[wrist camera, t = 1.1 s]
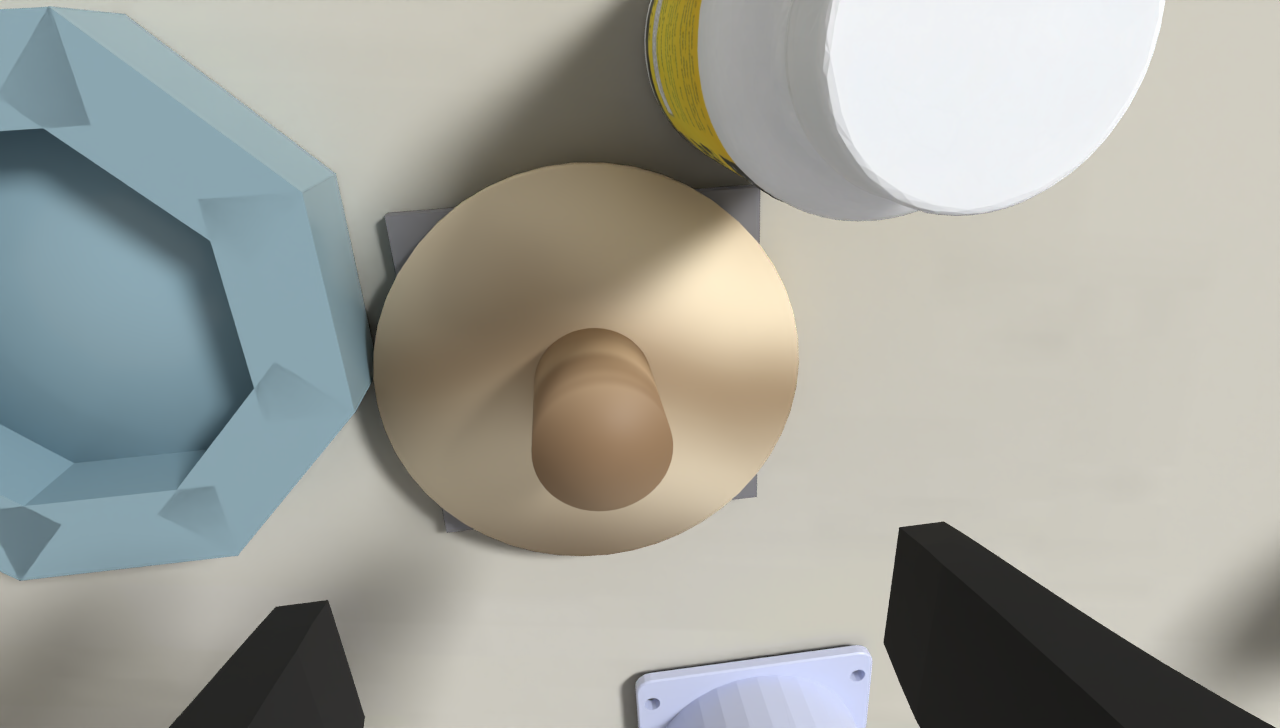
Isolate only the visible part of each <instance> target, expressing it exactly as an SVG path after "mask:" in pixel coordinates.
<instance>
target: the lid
mask: <svg viewBox="0 0 1280 728" xmlns="http://www.w3.org/2000/svg"><path fill="white" fill-rule="evenodd" d="M798 365H799V356H798V336H797V330H796V324H795V319H794V313H793V310H792V307H791V304H790V301H789V298H788V295H787V292H786V289H785V287H784V285H783V283H782V281H781V279H780V277H779V275H778V273H777V271H776V269H775V267H774V265H773V263H772V262H771V260H770V259H769V257H768V256H767V255H766V253H765V252H764V250H763V249H762V247H761V246H760V244H759V243H758V242H757V241H756V240H755V239H754V238H753V237H752V235H751V234H750V233H749V232H748V231H747V230H746V229H745V228H744V227H743V226H742V225H741V224H740V223H739V222H738V221H737V220H736V219H735V218H734V217H732V216H731V215H730V214H729V213H727V212H726V211H725V210H724V209H722V208H721V207H720V206H719V205H718V204H716V203H715V202H714V201H713V200H711V199H710V198H708V197H706V196H705V195H703V194H701V193H700V192H698V191H696V190H695V189H693V188H691V187H690V186H688V185H686V184H683V183H681V182H679V181H676V180H674V179H672V178H669V177H667V176H665V175H662V174H659V173H656V172H652V171H648V170H645V169H641V168H637V167H634V166H627V165H619V164H612V163H604V162H578V163H566V164H559V165H552V166H545V167H541V168H537V169H533V170H530V171H526V172H523V173H519V174H516V175H513V176H511V177H508V178H506V179H504V180H501V181H499V182H497V183H495V184H492V185H490V186H488V187H486V188H484V189H482V190H481V191H479V192H478V193H476V194H474V195H473V196H471V197H469V198H468V199H466V200H464V201H463V202H461V203H460V204H459V205H458V206H456V207H455V208H454V209H453V210H452V211H450V212H449V213H448V214H447V215H446V216H444V217H443V218H442V219H441V220H439V221H438V222H437V224H436V225H435V226H434V227H433V228H432V229H431V230H430V231H429V232H428V233H427V234H426V236H425V237H424V238H423V239H422V240H421V241H420V242H419V243H418V245H417V246H416V248H415V249H414V251H413V252H412V254H411V255H410V257H409V258H408V260H407V261H406V263H405V264H404V265H403V267H402V268H401V270H400V271H399V273H398V275H397V277H396V279H395V281H394V283H393V285H392V287H391V289H390V291H389V293H388V295H387V298H386V300H385V303H384V306H383V310H382V313H381V316H380V319H379V323H378V326H377V333H376V339H375V346H374V374H373V379H374V386H375V392H376V399H377V405H378V409H379V412H380V415H381V419H382V422H383V425H384V429H385V431H386V433H387V435H388V437H389V440H390V442H391V444H392V446H393V448H394V450H395V453H396V454H397V456H398V457H399V459H400V460H401V462H402V463H403V465H404V466H405V468H406V470H407V471H408V473H409V474H410V475H411V476H412V478H413V479H414V480H415V481H416V482H417V483H418V485H419V486H420V487H421V488H422V489H423V490H424V492H425V493H426V494H427V495H428V496H430V497H431V498H432V499H433V500H434V501H435V502H436V503H437V504H438V505H440V506H441V507H442V508H443V509H444V510H445V511H447V512H448V513H450V514H451V515H452V516H454V517H455V518H457V519H458V520H460V521H461V522H462V523H464V524H465V525H467V526H469V527H471V528H473V529H475V530H477V531H479V532H481V533H482V534H484V535H486V536H488V537H491V538H494V539H496V540H499V541H501V542H504V543H506V544H509V545H512V546H516V547H520V548H523V549H527V550H531V551H535V552H542V553H548V554H555V555H569V556H593V555H608V554H614V553H620V552H625V551H631V550H635V549H639V548H642V547H646V546H649V545H653V544H656V543H659V542H661V541H664V540H666V539H669V538H671V537H674V536H676V535H679V534H681V533H683V532H684V531H686V530H688V529H690V528H692V527H694V526H696V525H697V524H699V523H701V522H703V521H704V520H705V519H707V518H708V517H710V516H711V515H713V514H714V513H716V512H717V511H718V510H720V509H721V508H723V507H724V506H725V505H726V504H727V503H728V502H729V501H731V500H732V499H733V498H734V497H735V496H736V495H737V494H739V493H740V492H741V491H742V489H743V488H744V487H745V486H746V485H747V484H748V483H749V482H750V481H751V480H752V478H753V477H754V476H755V475H756V474H757V472H758V471H759V470H760V468H761V467H762V465H763V464H764V463H765V461H766V460H767V458H768V457H769V456H770V454H771V452H772V450H773V449H774V447H775V445H776V443H777V441H778V439H779V437H780V436H781V434H782V431H783V429H784V426H785V424H786V421H787V418H788V416H789V413H790V410H791V406H792V402H793V398H794V394H795V390H796V384H797V375H798Z"/></svg>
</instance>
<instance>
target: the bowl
mask: <svg viewBox="0 0 1280 728" xmlns="http://www.w3.org/2000/svg"><path fill="white" fill-rule="evenodd" d="M373 374H374V347H373V342H372V337H371V333H370V328H369V324H368V319H367V315H366V310H365V305H364V301H363V296H362V292H361V287H360V283H359V278H358V273H357V269H356V264H355V260H354V255H353V251H352V246H351V241H350V237H349V232H348V228H347V223H346V219H345V214H344V209H343V205H342V200H341V196H340V191H339V187H338V182H337V177H336V173H334V172H333V171H331V170H330V169H329V168H327V167H326V166H325V165H323V164H322V163H321V162H319V161H318V160H317V159H315V158H314V157H313V156H311V155H310V154H309V153H308V152H306V151H305V150H304V149H302V148H301V147H300V146H298V145H297V144H296V143H294V142H293V141H292V140H290V139H289V138H288V137H286V136H285V135H284V134H282V133H281V132H280V131H278V130H277V129H276V128H274V127H273V126H272V125H270V124H269V123H268V122H267V121H265V120H264V119H263V118H261V117H260V116H259V115H257V114H256V113H255V112H253V111H252V110H251V109H249V108H248V107H247V106H245V105H244V104H243V103H241V102H240V101H239V100H237V99H236V98H235V97H233V96H232V95H231V94H230V93H228V92H227V91H226V90H224V89H223V88H222V87H220V86H219V85H218V84H216V83H215V82H214V81H212V80H211V79H210V78H208V77H207V76H206V75H204V74H203V73H202V72H200V71H199V70H198V69H196V68H195V67H194V66H193V65H191V64H190V63H189V62H187V61H186V60H185V59H183V58H182V57H181V56H179V55H178V54H177V53H175V52H174V51H173V50H171V49H170V48H169V47H167V46H166V45H165V44H163V43H162V42H161V41H159V40H158V39H157V38H156V37H154V36H153V35H152V34H150V33H149V32H148V31H146V30H145V29H144V28H142V27H141V26H140V25H138V24H137V23H136V22H134V21H133V20H132V19H130V18H129V17H128V16H126V15H125V14H119V13H109V12H100V11H90V10H80V9H70V8H61V7H51V6H48V7H38V8H19V9H0V572H2V573H4V574H7V575H9V576H11V577H13V578H15V579H17V580H19V581H21V580H30V579H39V578H47V577H56V576H65V575H74V574H82V573H91V572H100V571H108V570H117V569H126V568H134V567H143V566H152V565H160V564H169V563H178V562H186V561H195V560H204V559H213V558H221V557H230V556H238V555H239V553H240V552H241V551H242V550H243V548H244V547H245V546H246V545H247V543H248V542H249V541H250V540H251V539H252V537H253V536H254V535H255V534H256V532H257V531H258V530H259V529H260V528H261V526H262V525H263V524H264V523H265V522H266V520H267V519H268V518H269V517H270V515H271V514H272V513H273V512H274V511H275V509H276V508H277V507H278V506H279V504H280V503H281V502H282V501H283V500H284V498H285V497H286V496H287V495H288V493H289V492H290V491H291V490H292V489H293V487H294V486H295V485H296V484H297V482H298V481H299V480H300V479H301V478H302V476H303V475H304V474H305V473H306V471H307V470H308V469H309V468H310V467H311V465H312V464H313V463H314V462H315V461H316V459H317V458H318V457H319V456H320V454H321V453H322V452H323V451H324V450H325V448H326V447H327V446H328V445H329V443H330V442H331V441H332V440H333V439H334V437H335V436H336V435H337V434H338V432H339V431H340V430H341V429H342V428H343V426H344V425H345V424H346V423H347V421H348V420H349V419H350V418H351V417H352V415H353V414H354V413H355V412H356V410H357V408H358V407H359V405H360V403H361V401H362V399H363V397H364V395H365V394H366V392H367V390H368V388H369V386H370V384H371V383H372V381H373Z"/></svg>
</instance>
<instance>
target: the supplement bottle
mask: <svg viewBox="0 0 1280 728" xmlns="http://www.w3.org/2000/svg"><path fill="white" fill-rule="evenodd" d="M1164 5H1165V0H651V1H650V4H649V8H648V13H647V18H646V25H645V36H644V44H645V59H646V66H647V72H648V77H649V80H650V84H651V87H652V90H653V93H654V95H655V98H656V100H657V102H658V104H659V106H660V108H661V109H662V111H663V113H664V115H665V116H666V118H667V119H668V120H669V122H670V123H671V124H672V126H673V127H674V128H675V129H676V130H677V131H678V132H679V133H680V135H681V136H682V137H683V138H685V139H686V140H687V141H688V142H689V143H691V144H692V145H693V146H694V147H696V148H697V149H699V150H700V151H701V152H703V153H704V154H706V155H707V156H709V157H711V158H712V159H714V160H715V161H717V162H718V163H720V164H722V165H723V166H725V167H726V168H728V169H730V170H732V171H733V172H735V173H736V174H738V175H740V176H742V177H743V178H745V179H746V180H747V181H749V182H750V183H752V184H753V185H755V186H756V187H758V188H759V189H760V190H762V191H763V192H765V193H767V194H769V195H770V196H771V197H773V198H775V199H777V200H780V201H782V202H785V203H787V204H789V205H790V206H793V207H795V208H797V209H799V210H802V211H804V212H807V213H810V214H814V215H817V216H820V217H824V218H830V219H835V220H842V221H876V220H883V219H890V218H894V217H899V216H904V215H907V214H911V213H914V212H916V211H922V212H925V213H930V214H938V215H951V216H961V215H975V214H983V213H990V212H993V211H997V210H1001V209H1005V208H1008V207H1011V206H1014V205H1016V204H1019V203H1022V202H1024V201H1026V200H1028V199H1030V198H1032V197H1034V196H1036V195H1038V194H1040V193H1041V192H1043V191H1045V190H1047V189H1049V188H1050V187H1052V186H1053V185H1055V184H1056V183H1057V182H1059V181H1060V180H1062V179H1063V178H1065V177H1066V176H1068V175H1069V174H1070V173H1072V172H1073V171H1074V170H1075V169H1076V168H1077V167H1079V166H1080V165H1081V164H1082V163H1083V162H1084V161H1086V160H1087V159H1088V158H1089V157H1090V156H1091V155H1092V154H1093V153H1094V152H1095V150H1096V149H1097V148H1098V147H1099V146H1100V145H1101V144H1102V143H1103V142H1104V140H1105V139H1106V138H1107V137H1108V136H1109V134H1110V133H1111V132H1112V130H1113V129H1114V127H1115V126H1116V125H1117V123H1118V122H1119V121H1120V119H1121V118H1122V116H1123V115H1124V113H1125V112H1126V110H1127V108H1128V107H1129V105H1130V104H1131V102H1132V100H1133V98H1134V96H1135V94H1136V92H1137V90H1138V88H1139V86H1140V84H1141V82H1142V80H1143V78H1144V76H1145V74H1146V71H1147V69H1148V66H1149V63H1150V61H1151V58H1152V55H1153V52H1154V49H1155V45H1156V42H1157V38H1158V35H1159V31H1160V27H1161V21H1162V16H1163V10H1164Z"/></svg>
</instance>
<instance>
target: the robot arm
mask: <svg viewBox="0 0 1280 728" xmlns="http://www.w3.org/2000/svg"><path fill="white" fill-rule="evenodd" d="M884 645H885V648H886V650H887V653H888V655H889V657H890V660H891V662H892V665H893V667H894V670H895V672H896V675H897V677H898V680H899V682H900V685H901V687H902V689H903V692H904V694H905V696H906V698H907V701H908V703H909V705H910V708H911V710H912V712H913V714H914V717H915V719H916V721H917V723H918V725H919V726H920V728H1275V727H1273V726H1272V725H1270V724H1268V723H1266V722H1264V721H1263V720H1261V719H1259V718H1257V717H1255V716H1254V715H1252V714H1250V713H1248V712H1246V711H1245V710H1243V709H1241V708H1239V707H1237V706H1236V705H1234V704H1232V703H1230V702H1229V701H1227V700H1225V699H1223V698H1222V697H1220V696H1218V695H1217V694H1215V693H1213V692H1212V691H1210V690H1208V689H1207V688H1205V687H1203V686H1201V685H1200V684H1198V683H1196V682H1195V681H1193V680H1191V679H1190V678H1188V677H1186V676H1184V675H1183V674H1181V673H1179V672H1178V671H1176V670H1174V669H1173V668H1171V667H1169V666H1167V665H1166V664H1164V663H1162V662H1161V661H1159V660H1157V659H1156V658H1154V657H1153V656H1151V655H1149V654H1148V653H1146V652H1144V651H1143V650H1141V649H1140V648H1138V647H1136V646H1135V645H1133V644H1132V643H1130V642H1128V641H1127V640H1125V639H1123V638H1122V637H1120V636H1119V635H1117V634H1116V633H1114V632H1112V631H1111V630H1109V629H1108V628H1106V627H1105V626H1103V625H1101V624H1100V623H1098V622H1097V621H1095V620H1094V619H1092V618H1091V617H1089V616H1087V615H1086V614H1084V613H1083V612H1081V611H1080V610H1078V609H1077V608H1075V607H1074V606H1072V605H1070V604H1069V603H1067V602H1066V601H1064V600H1063V599H1061V598H1060V597H1058V596H1057V595H1055V594H1054V593H1052V592H1051V591H1049V590H1048V589H1046V588H1045V587H1043V586H1042V585H1040V584H1039V583H1037V582H1036V581H1034V580H1033V579H1031V578H1030V577H1028V576H1027V575H1025V574H1024V573H1022V572H1021V571H1019V570H1018V569H1016V568H1015V567H1013V566H1012V565H1010V564H1009V563H1007V562H1006V561H1004V560H1003V559H1001V558H1000V557H998V556H997V555H995V554H994V553H992V552H991V551H989V550H988V549H986V548H985V547H983V546H982V545H980V544H979V543H977V542H975V541H974V540H972V539H971V538H969V537H968V536H966V535H965V534H963V533H962V532H960V531H958V530H957V529H955V528H953V527H952V526H950V525H949V524H947V523H945V522H938V523H930V524H922V525H914V526H906V527H899V534H898V541H897V548H896V555H895V563H894V570H893V577H892V585H891V592H890V599H889V607H888V614H887V621H886V628H885V636H884ZM856 670H857V671H856ZM871 670H872V657H871V655H870V653H869V651H868V650H867V649H866V648H865V647H863V646H861V645H854V646H847V647H839V648H832V649H824V650H817V651H809V652H802V653H795V654H787V655H780V656H772V657H765V658H758V659H750V660H743V661H735V662H728V663H721V664H713V665H706V666H698V667H691V668H683V669H676V670H669V671H661V672H654V673H648V674H644V675H643V676H641V677H640V678H639V679H638V680H637V681H636V685H635V690H636V703H637V716H638V728H866V722H867V712H868V701H869V691H870V681H871ZM854 671H855V672H854ZM651 698H655V699H653V700H648V699H651ZM364 719H365V716H364V713H363V710H362V707H361V704H360V700H359V697H358V694H357V691H356V688H355V684H354V681H353V678H352V675H351V672H350V668H349V665H348V662H347V659H346V656H345V652H344V649H343V646H342V643H341V640H340V636H339V633H338V630H337V627H336V624H335V620H334V617H333V614H332V611H331V608H330V604H329V601H328V600H326V601H318V602H310V603H302V604H294V605H287V606H279V607H275V608H274V610H273V611H272V612H271V613H270V614H269V615H268V616H267V617H266V618H265V619H264V621H263V622H262V623H261V624H260V625H259V626H258V627H257V628H256V630H255V631H254V632H253V633H252V634H251V635H250V636H249V637H248V638H247V640H246V641H245V642H244V643H243V644H242V645H241V646H240V648H239V649H238V650H237V651H236V652H235V653H234V654H233V655H232V657H231V658H230V659H229V660H228V661H227V662H226V663H225V665H224V666H223V667H222V668H221V669H220V670H219V671H218V673H217V674H216V675H215V676H214V677H213V678H212V679H211V681H210V682H209V683H208V684H207V685H206V686H205V687H204V689H203V690H202V691H201V692H200V693H199V694H198V695H197V697H196V698H195V699H194V700H193V701H192V702H191V703H190V704H189V706H188V707H187V708H186V709H185V710H184V711H183V712H182V714H181V715H180V716H179V717H178V718H177V719H176V720H175V721H174V722H173V724H172V725H171V726H170V727H169V728H363V727H364Z"/></svg>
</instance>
